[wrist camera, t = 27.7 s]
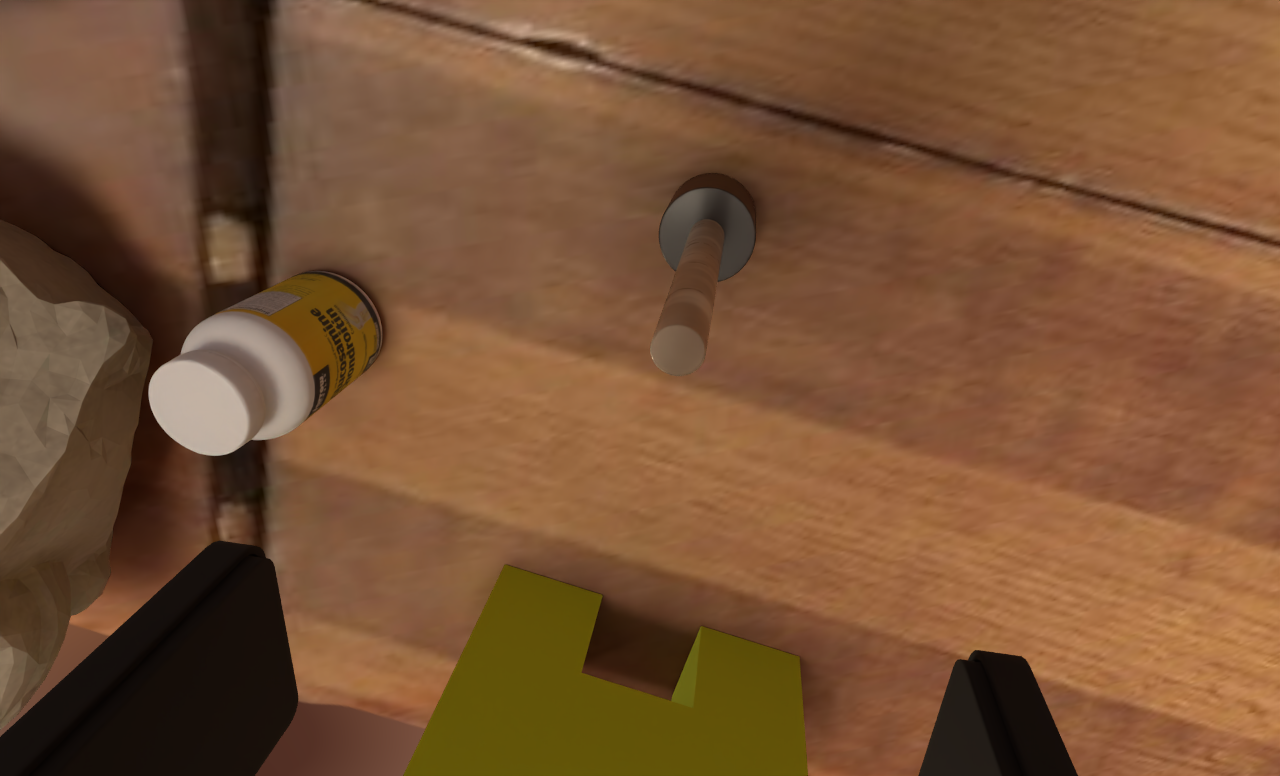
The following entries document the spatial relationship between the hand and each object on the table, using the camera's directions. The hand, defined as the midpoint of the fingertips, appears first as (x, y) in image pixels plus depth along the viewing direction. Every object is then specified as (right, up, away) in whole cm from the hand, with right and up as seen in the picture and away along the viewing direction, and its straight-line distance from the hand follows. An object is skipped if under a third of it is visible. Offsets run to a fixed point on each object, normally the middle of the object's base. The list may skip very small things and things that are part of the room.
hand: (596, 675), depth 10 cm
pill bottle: (-17, +8, +33) cm, 38 cm away
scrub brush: (+4, +12, +27) cm, 30 cm away
